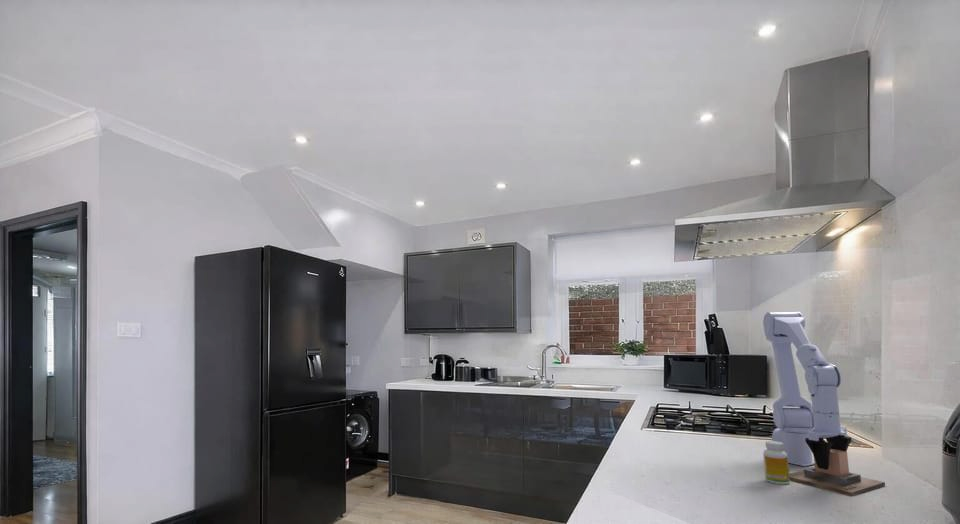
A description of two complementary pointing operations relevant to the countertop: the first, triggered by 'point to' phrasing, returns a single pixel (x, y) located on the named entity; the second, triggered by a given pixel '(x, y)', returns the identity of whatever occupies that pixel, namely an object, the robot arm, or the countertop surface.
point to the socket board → (836, 481)
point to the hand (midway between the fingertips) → (831, 466)
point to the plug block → (836, 464)
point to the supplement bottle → (776, 463)
